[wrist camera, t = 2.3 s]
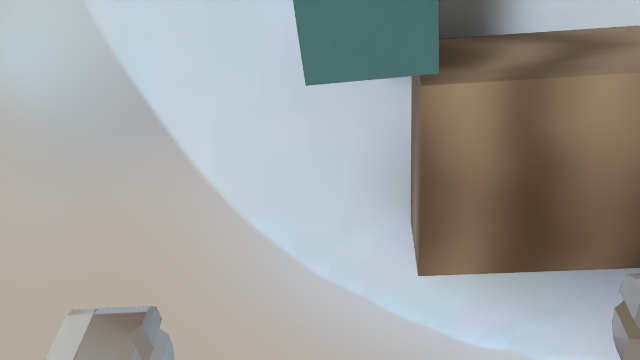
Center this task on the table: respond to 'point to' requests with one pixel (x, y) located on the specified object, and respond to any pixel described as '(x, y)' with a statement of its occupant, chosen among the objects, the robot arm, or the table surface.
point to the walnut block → (528, 154)
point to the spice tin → (367, 39)
